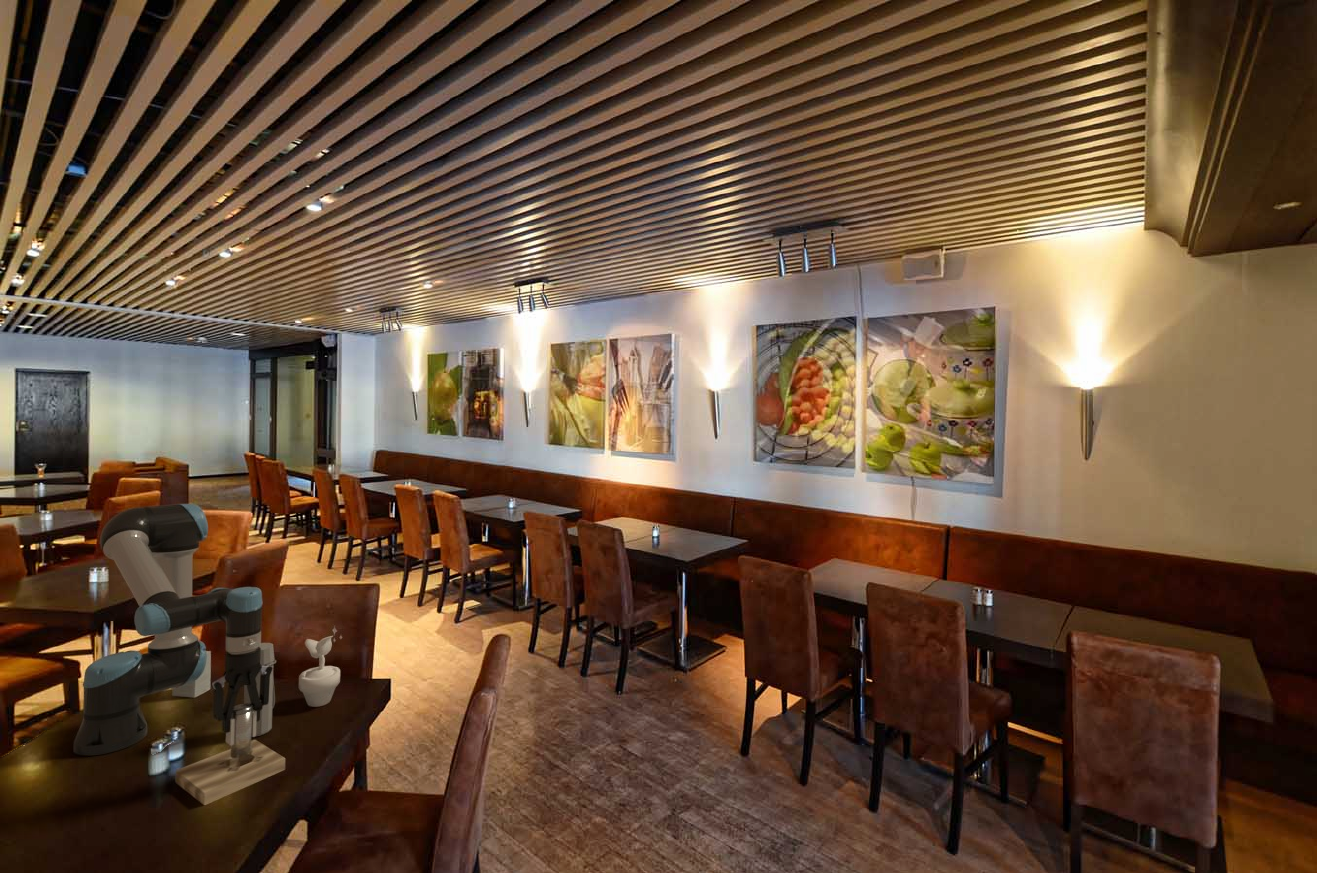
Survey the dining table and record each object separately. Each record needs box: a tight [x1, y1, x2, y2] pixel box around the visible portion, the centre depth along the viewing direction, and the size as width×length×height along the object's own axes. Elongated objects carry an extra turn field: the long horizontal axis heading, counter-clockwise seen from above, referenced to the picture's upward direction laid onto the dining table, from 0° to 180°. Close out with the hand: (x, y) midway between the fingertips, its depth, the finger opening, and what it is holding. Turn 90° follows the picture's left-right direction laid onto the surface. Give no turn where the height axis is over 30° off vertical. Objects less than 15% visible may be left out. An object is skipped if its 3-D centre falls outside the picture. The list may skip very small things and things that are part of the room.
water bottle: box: [243, 642, 277, 738], centre depth 174 cm, size 9×8×25 cm
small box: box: [171, 650, 212, 699], centre depth 196 cm, size 8×6×13 cm
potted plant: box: [298, 625, 343, 708], centre depth 193 cm, size 13×12×25 cm
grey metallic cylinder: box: [230, 702, 253, 758], centre depth 154 cm, size 4×4×12 cm
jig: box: [174, 739, 286, 806], centre depth 152 cm, size 16×18×3 cm
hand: (241, 738), depth 154 cm, fingers closed on grey metallic cylinder, 4 cm apart
